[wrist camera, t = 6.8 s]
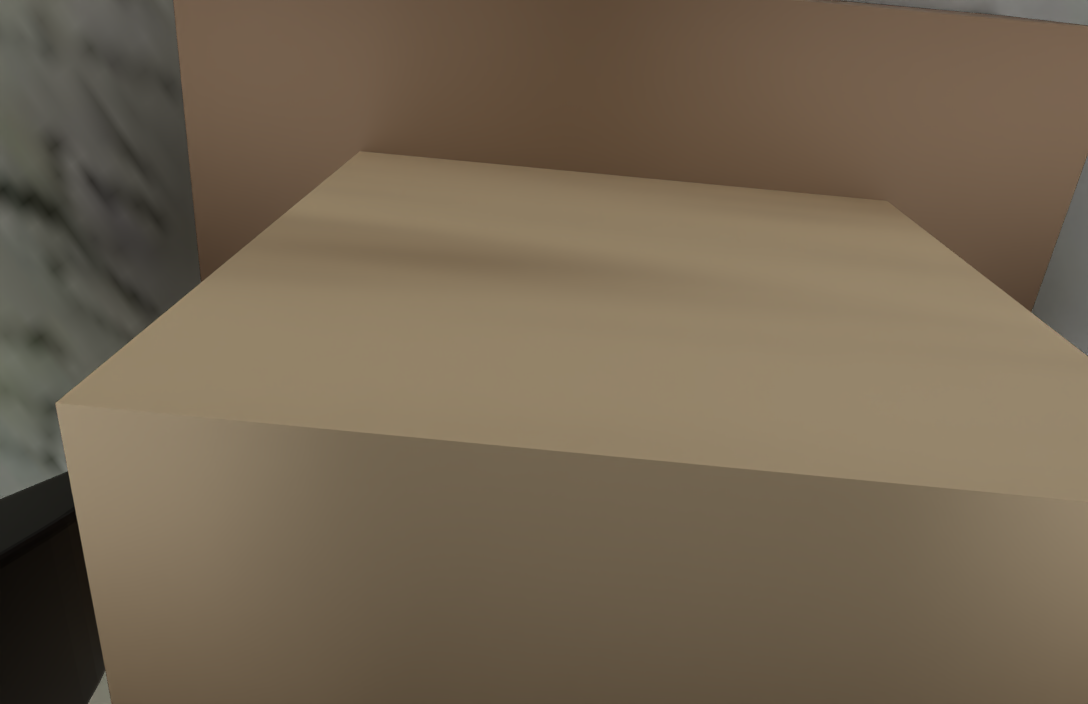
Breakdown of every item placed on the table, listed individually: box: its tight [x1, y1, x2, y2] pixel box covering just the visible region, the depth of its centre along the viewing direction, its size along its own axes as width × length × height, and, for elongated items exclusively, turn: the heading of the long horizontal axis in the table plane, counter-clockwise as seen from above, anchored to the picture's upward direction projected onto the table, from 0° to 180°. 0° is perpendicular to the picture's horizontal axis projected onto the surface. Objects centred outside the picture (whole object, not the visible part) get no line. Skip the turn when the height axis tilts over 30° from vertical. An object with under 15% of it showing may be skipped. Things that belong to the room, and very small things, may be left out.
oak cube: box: [55, 151, 1088, 704], centre depth 8 cm, size 6×6×6 cm
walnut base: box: [173, 0, 1088, 312], centre depth 12 cm, size 10×10×3 cm
